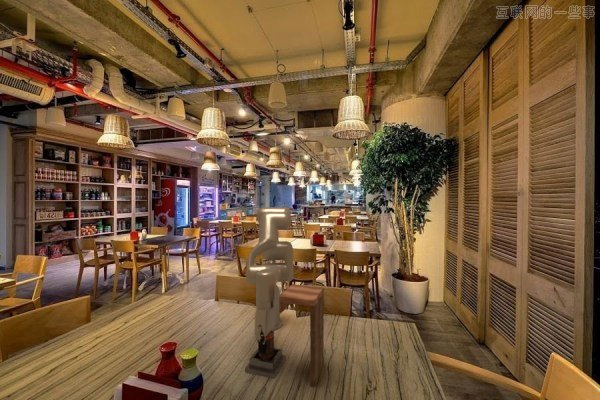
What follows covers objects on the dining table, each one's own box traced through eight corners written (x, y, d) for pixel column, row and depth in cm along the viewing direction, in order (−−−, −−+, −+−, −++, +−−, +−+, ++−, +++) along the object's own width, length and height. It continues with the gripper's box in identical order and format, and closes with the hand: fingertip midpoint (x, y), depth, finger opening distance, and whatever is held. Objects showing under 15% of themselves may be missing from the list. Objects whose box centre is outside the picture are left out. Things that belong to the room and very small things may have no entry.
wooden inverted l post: (292, 357, 111) (292, 284, 110) (323, 363, 107) (323, 287, 106) (279, 379, 97) (279, 296, 97) (314, 387, 93) (314, 300, 93)
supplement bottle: (274, 350, 108) (274, 322, 108) (273, 359, 102) (273, 329, 102) (259, 350, 108) (259, 322, 108) (257, 359, 102) (257, 329, 102)
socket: (259, 354, 113) (259, 343, 113) (286, 359, 109) (286, 348, 109) (244, 371, 101) (244, 360, 101) (274, 378, 98) (274, 366, 98)
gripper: (266, 293, 114) (266, 336, 115) (246, 310, 98) (246, 359, 98) (283, 295, 112) (283, 338, 112) (265, 312, 96) (265, 363, 96)
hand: (266, 348), depth 105 cm, fingers closed on supplement bottle, 6 cm apart
